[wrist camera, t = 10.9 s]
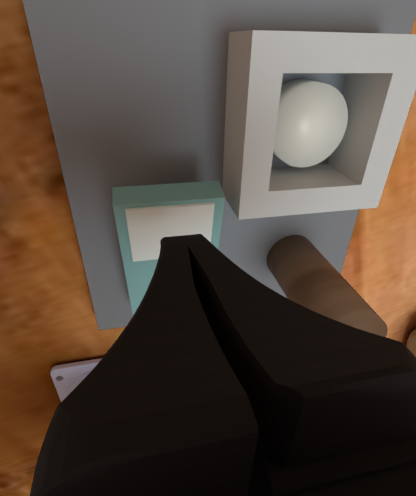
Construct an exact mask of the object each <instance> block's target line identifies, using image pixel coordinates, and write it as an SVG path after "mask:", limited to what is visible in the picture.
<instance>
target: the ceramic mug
mask: <svg viewBox="0 0 416 496" xmlns="http://www.w3.org/2000/svg"><path fill="white" fill-rule="evenodd" d="M406 347H407V348H408V349H409V350H410V351H411V352H412V353H413V354H414V355H415V357H416V329H415V330H413V331H412V332H411V333H410V335H409V337H408V340H407V345H406Z"/></svg>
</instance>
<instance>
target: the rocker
mask: <svg viewBox="0 0 416 496" xmlns="http://www.w3.org/2000/svg"><path fill="white" fill-rule="evenodd" d="M112 194H113V211H114V216H115V221H116V227H117V232H118V238H119V243H120V249H121V254H122V259H123V265H124V270H125V276H126V281H127V287H128V292H129V297H130V303H131V308H132V314H133V315H134V314H135V312H136V310H137V308H138V307H139V305H140V303H141V301H142V299H143V297H144V295H145V293H146V291H147V289H148V286H149V284H150V282H151V279H152V277H153V274H154V271H155V268H156V265H157V262H158V258H159V254H160V248H161V245H160V240H161V239H162V238H163V237H172V236H183V235H193V234H202V235H203V236H204V237H205V238H206V239H207V240H208V241H210V242H211V243H212V244H213V245H214V246H215V247H216V248H217V249H218V247H219V240H220V232H221V224H222V216H223V209H224V201H225V196H224V194H223V191H222V188H221V186H220V183H219V181H204V182H189V183H173V184H157V185H141V186H125V187H112Z"/></svg>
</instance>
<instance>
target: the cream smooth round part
mask: <svg viewBox="0 0 416 496" xmlns="http://www.w3.org/2000/svg"><path fill="white" fill-rule="evenodd" d="M347 122H348V109H347V104H346V101H345V99H344V97H343V95H342V94H341V93H340V92H339V91H338V90H337V89H336V88H335V87H333V86H331V85H329V84H326V83H321V82H317V81H312V80H308V79H296V80H292V81H290V82H287V83H285V84H284V85H282V86H281V94H280V102H279V110H278V118H277V126H276V134H275V142H274V150H273V154H274V155H276V156H277V157H278V158H280V159H281V160H282V161H283V162H285V163H286V164H288V165H290V166H293V167H301V168H303V167H310V166H313V165H316V164H318V163H320V162H322V161H323V160H325V159H326V158H327V157H328V156H330V155H331V154H332V153H333V152H334V150H335V149H336V148H337V147H338V145H339V144H340V142H341V140H342V138H343V136H344V134H345V131H346V127H347Z"/></svg>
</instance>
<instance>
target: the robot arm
mask: <svg viewBox="0 0 416 496" xmlns="http://www.w3.org/2000/svg"><path fill="white" fill-rule="evenodd" d="M160 245H161V248H160V254H159V258H158V262H157V265H156V268H155V271H154V274H153V277H152V279H151V282H150V284H149V286H148V289H147V291H146V293H145V295H144V297H143V299H142V301H141V303H140V305H139V307H138V308H137V310H136V312H135V314H134V315H133V317H132V318H131V320H130V321H129V323H128V324H127V326H126V328H125V329H124V331H123V332H122V333H121V335H120V336H119V338H118V339H117V340H116V342H115V343H114V344H113V345H112V347H111V348H110V349H109V350H108V352H107V353H106V354H105V355H104V357H103V358H100V359H93V360H87V361H81V362H74V363H68V364H62V365H56V366H54V367H52V369H51V372H50V375H51V378H52V380H53V383H54V385H55V388H56V391H57V393H58V396H59V398H60V401H61V403H60V404H59V405H58V406H57V409H56V411H55V413H54V416H53V418H52V420H51V423H50V425H49V428H48V430H47V433H46V436H45V439H44V442H43V445H42V448H41V451H40V454H39V457H38V460H37V464H36V468H35V473H34V478H33V483H32V488H31V493H30V496H416V357H415V355H414V354H413V353H412V352H411V351H410V350H409V349H408V348H407V347H406V346H405V345H404V344H403V343H402V342H399V341H396V340H392V339H389V338H386V337H383V336H380V335H376V334H373V333H370V332H367V331H364V330H360V329H357V328H354V327H352V326H349V325H346V324H344V323H341V322H339V321H336V320H333V319H331V318H328V317H326V316H324V315H321V314H319V313H317V312H314V311H312V310H310V309H308V308H306V307H304V306H302V305H300V304H298V303H295V302H293V301H291V300H290V299H288V298H286V297H284V296H282V295H280V294H279V293H277V292H275V291H274V290H272V289H270V288H269V287H267V286H265V285H264V284H262V283H261V282H259V281H258V280H256V279H255V278H253V277H252V276H250V275H249V274H248V273H246V272H245V271H243V270H242V269H241V268H240V267H238V266H237V265H236V264H235V263H233V262H232V261H231V260H230V259H228V258H227V257H226V256H225V255H224V254H223V253H222V252H220V251H219V250H218V249H217V248H216V247H215V246H214V245H213V244H212V243H211V242H210V241H208V240H207V239H206V238H205V237H204V236H203V235H202V234H193V235H183V236H172V237H163V238H162V239H161V240H160Z"/></svg>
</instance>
